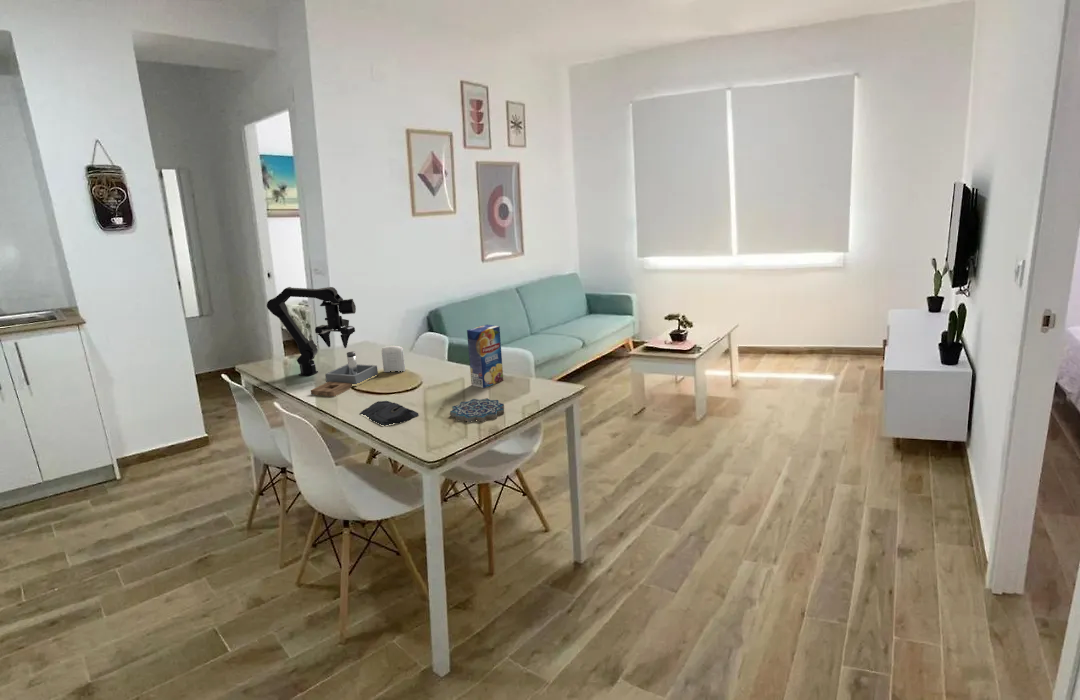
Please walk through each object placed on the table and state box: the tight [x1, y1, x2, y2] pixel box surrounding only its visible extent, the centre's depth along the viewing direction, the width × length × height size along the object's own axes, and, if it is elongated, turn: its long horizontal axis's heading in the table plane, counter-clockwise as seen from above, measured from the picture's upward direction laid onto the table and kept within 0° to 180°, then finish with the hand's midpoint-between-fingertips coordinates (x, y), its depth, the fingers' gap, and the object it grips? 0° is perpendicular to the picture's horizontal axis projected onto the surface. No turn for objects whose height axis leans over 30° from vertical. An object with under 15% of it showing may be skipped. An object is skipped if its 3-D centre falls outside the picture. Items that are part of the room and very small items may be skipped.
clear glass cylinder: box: [346, 351, 358, 375], centre depth 275 cm, size 4×4×12 cm
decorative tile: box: [449, 397, 505, 423], centre depth 229 cm, size 20×20×2 cm
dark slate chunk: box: [359, 400, 420, 425], centre depth 231 cm, size 15×22×5 cm
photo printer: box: [381, 345, 406, 373], centre depth 286 cm, size 10×4×12 cm, turn 85°
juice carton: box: [466, 324, 504, 389], centre depth 260 cm, size 12×8×24 cm, turn 140°
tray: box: [324, 363, 379, 384], centre depth 277 cm, size 16×16×5 cm
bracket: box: [310, 381, 353, 397], centre depth 263 cm, size 12×12×2 cm
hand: (337, 347), depth 288 cm, fingers open, 9 cm apart
